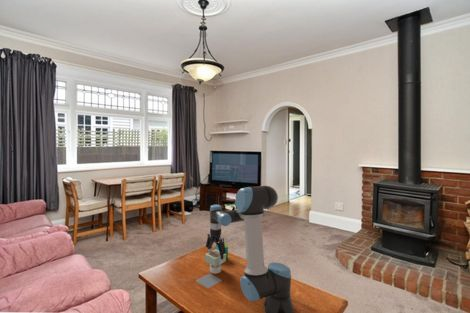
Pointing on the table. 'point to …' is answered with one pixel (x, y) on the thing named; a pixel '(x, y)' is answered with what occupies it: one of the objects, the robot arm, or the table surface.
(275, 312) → the robot arm
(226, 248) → the toy car
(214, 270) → the bowl
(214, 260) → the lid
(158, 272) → the table surface
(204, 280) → the mat
